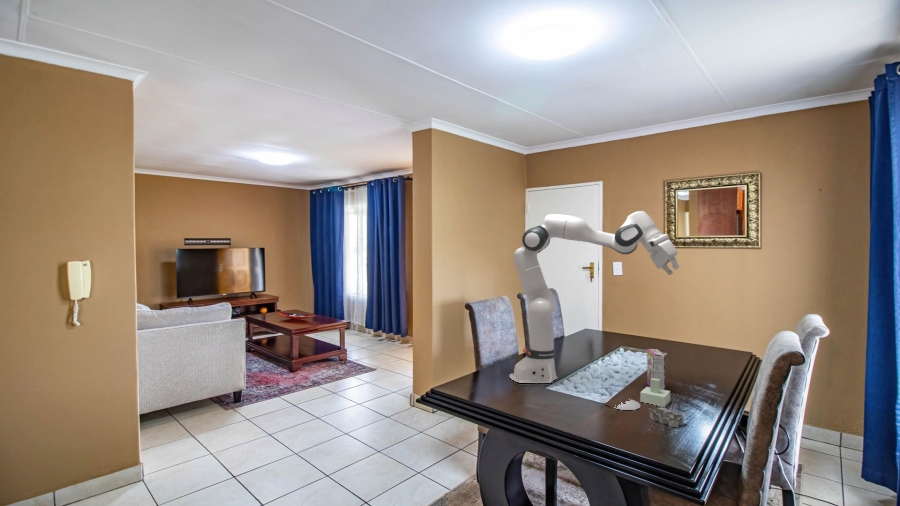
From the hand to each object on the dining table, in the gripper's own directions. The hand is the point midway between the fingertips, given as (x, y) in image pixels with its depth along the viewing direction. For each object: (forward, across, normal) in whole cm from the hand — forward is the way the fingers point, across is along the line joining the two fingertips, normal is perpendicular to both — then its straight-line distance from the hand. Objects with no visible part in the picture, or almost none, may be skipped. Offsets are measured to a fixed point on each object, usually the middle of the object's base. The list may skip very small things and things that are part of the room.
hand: (674, 271), depth 182 cm
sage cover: (+42, -7, -33) cm, 54 cm away
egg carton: (+47, +12, -37) cm, 61 cm away
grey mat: (+37, -1, -46) cm, 59 cm away
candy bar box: (+40, -23, -27) cm, 53 cm away
